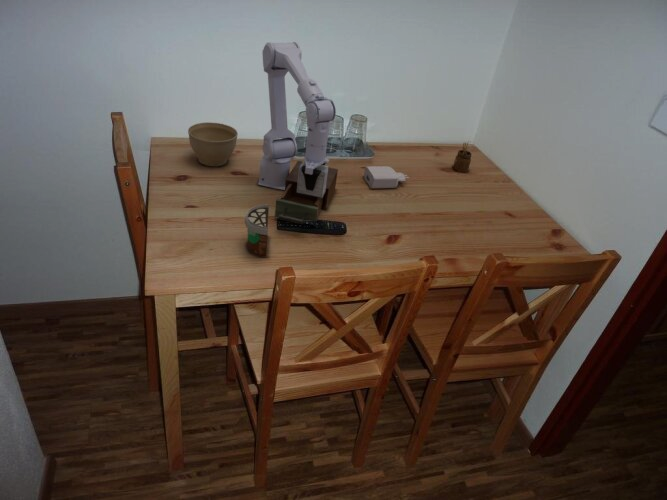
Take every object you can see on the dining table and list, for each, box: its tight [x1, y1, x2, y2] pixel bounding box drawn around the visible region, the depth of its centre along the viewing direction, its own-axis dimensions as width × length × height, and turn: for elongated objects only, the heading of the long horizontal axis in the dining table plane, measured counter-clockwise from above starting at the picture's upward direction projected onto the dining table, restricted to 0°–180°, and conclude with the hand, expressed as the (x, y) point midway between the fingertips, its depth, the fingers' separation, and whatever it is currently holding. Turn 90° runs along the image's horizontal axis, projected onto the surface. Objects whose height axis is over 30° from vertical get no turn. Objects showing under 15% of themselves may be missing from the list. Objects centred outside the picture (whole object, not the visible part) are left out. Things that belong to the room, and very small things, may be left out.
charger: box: [363, 165, 410, 189], centre depth 178 cm, size 5×9×15 cm
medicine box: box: [297, 160, 329, 198], centre depth 148 cm, size 8×4×9 cm, turn 79°
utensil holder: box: [452, 141, 472, 173], centre depth 194 cm, size 6×6×12 cm
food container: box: [244, 204, 270, 258], centre depth 135 cm, size 12×6×10 cm, turn 5°
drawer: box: [274, 183, 325, 225], centre depth 151 cm, size 19×12×6 cm, turn 168°
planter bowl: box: [187, 122, 238, 167], centre depth 173 cm, size 16×16×11 cm
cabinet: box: [284, 160, 339, 211], centre depth 163 cm, size 15×14×8 cm
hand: (311, 186), depth 150 cm, fingers closed on medicine box, 4 cm apart
